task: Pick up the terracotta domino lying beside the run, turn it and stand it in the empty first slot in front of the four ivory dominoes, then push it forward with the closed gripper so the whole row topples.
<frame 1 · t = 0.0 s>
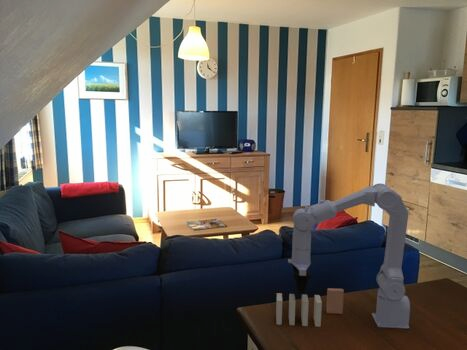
hand: (299, 287, 128), 10 cm above the table, tool pointing down, fingers open, 7 cm apart
ivory domino 2: (304, 321, 127), on the table
terracotta domino: (334, 312, 133), on the table
ivory domino 3: (291, 321, 127), on the table
ivory domino 1: (317, 322, 127), on the table
ivory domino 4: (278, 320, 128), on the table
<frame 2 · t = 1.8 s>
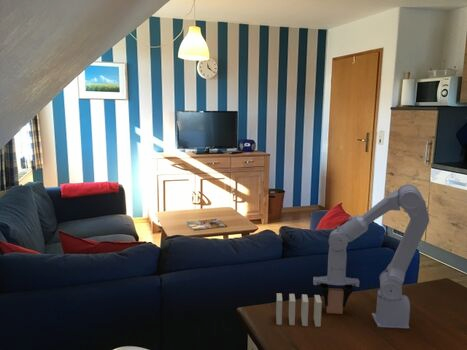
hand: (334, 305, 132), 2 cm above the table, tool pointing down, fingers closed on terracotta domino, 5 cm apart
terracotta domino: (334, 312, 133), on the table, touching gripper
everything else where it was.
when the fingers open (3 cm above the table, at t = 5.9 s): terracotta domino drops 1 cm, on the table.
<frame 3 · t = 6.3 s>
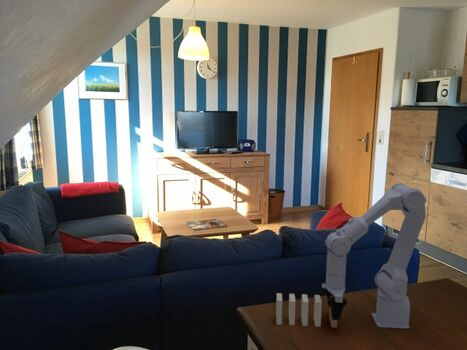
hand: (333, 313, 126), 3 cm above the table, tool pointing down, fingers open, 7 cm apart
terracotta domino: (333, 323, 126), on the table
everything else where it was.
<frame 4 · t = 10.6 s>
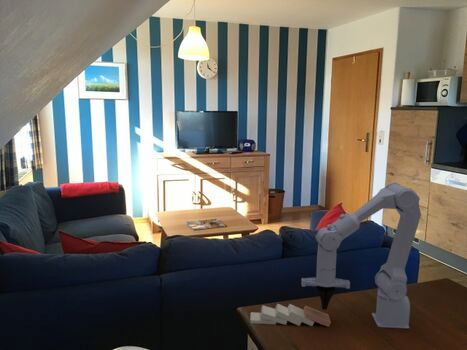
hand: (324, 308, 126), 5 cm above the table, tool pointing down, fingers closed
ivory domino 2: (299, 319, 127), point 1 cm above the table, tilted 67°, touching ivory domino 1
terracotta domino: (328, 320, 126), point 1 cm above the table, tilted 70°
ivory domino 3: (286, 318, 127), point 1 cm above the table, tilted 74°, touching ivory domino 4
ivory domino 1: (312, 320, 126), point 1 cm above the table, tilted 66°, touching ivory domino 2
ivory domino 4: (275, 319, 128), on the table, tilted 90°, touching ivory domino 3
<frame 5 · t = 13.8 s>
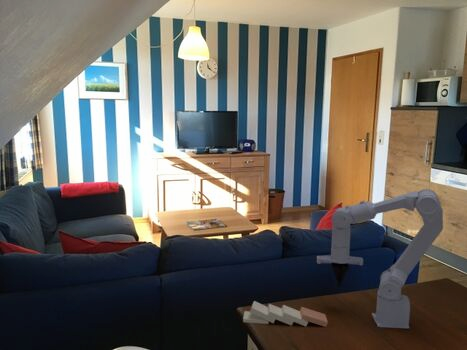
hand: (338, 284, 132), 9 cm above the table, tool pointing down, fingers closed
ivory domino 2: (291, 319, 127), point 1 cm above the table, tilted 68°, touching ivory domino 1, ivory domino 3
ivory domino 3: (275, 317, 127), point 1 cm above the table, tilted 68°, touching ivory domino 2
ivory domino 1: (306, 320, 126), point 1 cm above the table, tilted 68°, touching ivory domino 2
ivory domino 4: (268, 319, 128), on the table, tilted 90°
at the end: terracotta domino 1.4 cm from the target spot, point 0.7 cm above the table; terracotta domino tilted 73°; ivory domino 4 tilted 90° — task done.
